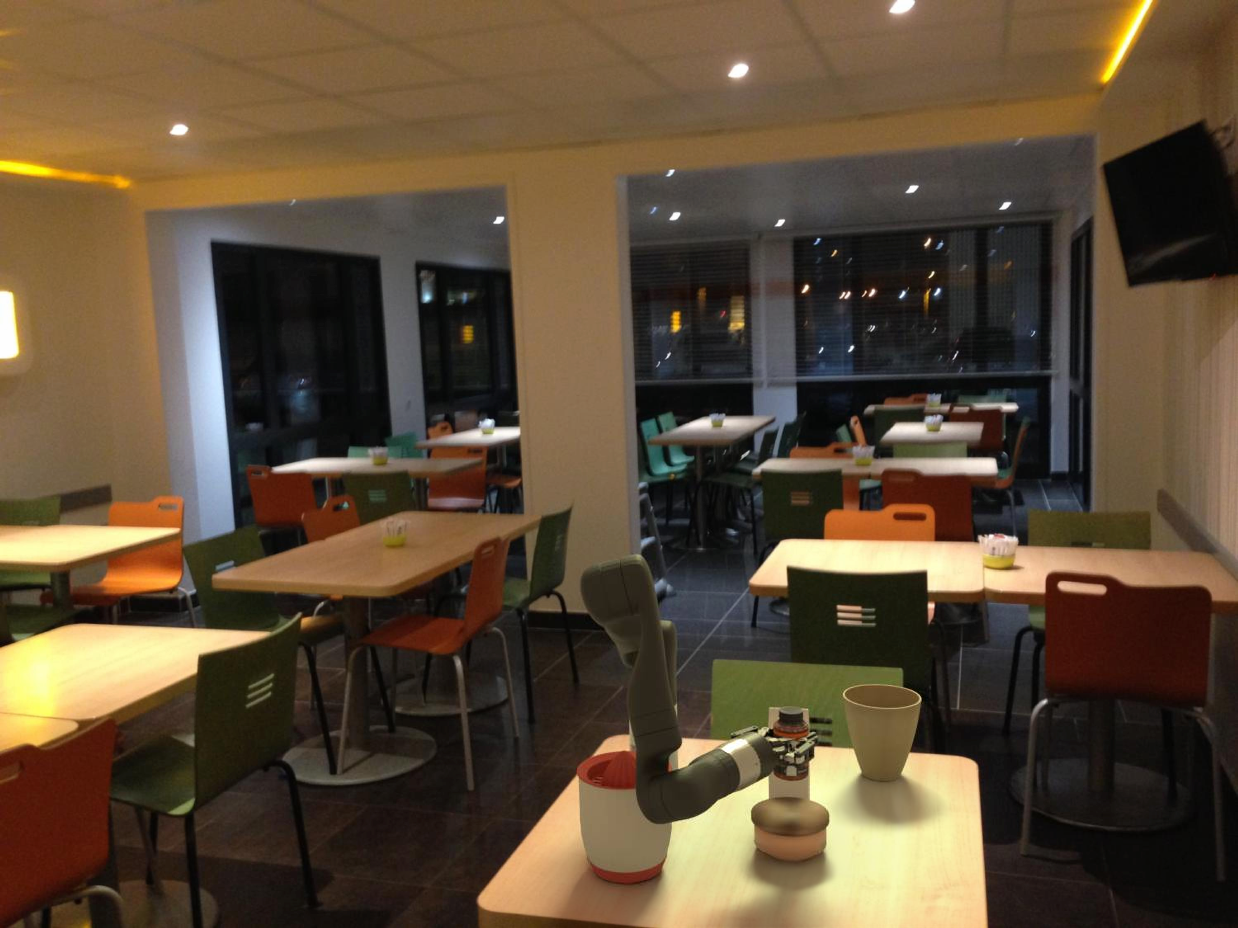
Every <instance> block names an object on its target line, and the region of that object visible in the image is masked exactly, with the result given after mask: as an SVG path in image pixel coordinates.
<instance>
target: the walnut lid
mask: <svg viewBox="0 0 1238 928" xmlns="http://www.w3.org/2000/svg"><path fill="white" fill-rule="evenodd" d="M750 820H751V822H752V824H753V826H754V825H755V826H756V827H758V828H759V829H761V830H763V831H765V832H768V833H771V834H776V835H781V836H807V835H812V834H815V833H818V832H820V831H822V830H824V829H825V828H826V829H827V828H828V826H829V824H830V812H829V810H828V809H827V808H826V806H824V805H823V804H820V803H819V802H816V801H814V800H811V799H810V800H808V799H803V798H796V797H777V798H771V799H769V798H767V799H763V800H761V801H759V802H756V804H754V805H753V807H752V808H751V810H750Z"/></svg>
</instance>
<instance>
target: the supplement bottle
mask: <svg viewBox="0 0 1238 928" xmlns="http://www.w3.org/2000/svg"><path fill="white" fill-rule="evenodd" d="M779 708H780V709H779V719H778V720H777V721H775V723H774V725H773V738H777V739H780V738H786V737H792V738H793V739H797V738H802V737H803V736H805V735H807V734H809V733H810V725H809V726H808V724H807V723H806V722H805V721H804V719H803V710H802V709H803V708H801V707H798V706H782V707H779ZM786 745H787V753H788V743H786ZM798 748H800V744H797V745H796V749H798ZM808 771H809V762H808V763H807V764H805V765H804V766H803V767H801V768H795V767H794V762H790V761H786V762H785V763H782V764H777V765H776V766H775V768H774V769H773V773H774V775H775V776H776V777H778V778H780V779H782V780H787V781H799V780H802V779H805V778H806V777H807V776H808Z"/></svg>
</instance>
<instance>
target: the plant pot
mask: <svg viewBox="0 0 1238 928" xmlns="http://www.w3.org/2000/svg"><path fill="white" fill-rule="evenodd" d="M842 695H843V697H842V698H843V699H842V700H843V705H844V713H845V718H846V724H847V728H848V732H849V736H850V737H849V738H850V740H851V744H852V748H853V751H854V754H855V757H856V761H857V763H858V765H859V769H860V771H861V774H862V775H863V777H865V778H866V779H867V778H868V779H869V780H872V781H873V780H874V781H878V782H890V781H892V782H893V781H896V780H898V779H899V778H901V776H902V773H903V771H904V768H905V766H906V763H907V760H908V758H909V755H910V752H911V748H912V745H913V743H914V739H915V734H916V731H917V727H918V722H919V717H920V712H921V704H922V697H921V695H920V694H919V693H918V692H916V691H914V690H912V689H909V688H906V687H902V686H897V685H889V684H877V683H876V684H874V683H873V684H859V685H854V686H852V687H848V688H847V689H845V690H844V691H843V693H842Z"/></svg>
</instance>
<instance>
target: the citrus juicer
mask: <svg viewBox="0 0 1238 928" xmlns="http://www.w3.org/2000/svg"><path fill="white" fill-rule="evenodd" d="M669 771H673V768H672V766H671V764H670V763H669ZM576 775H577V778H578V797H579V798H578V799H579V800H578V802H579V823H580V824H579V825H580V833H581V839H582V843H583V847H584V850H585V853H586V858H587V860H588V863H589V865H590V867H591V870H592V871H593V873H594V874H595V875H596V876H597V877H599V878H600V879H603V880H606V881H609V882H613V883H619V884H620V883H621V884H624V885H630V884H633V883H638V882H643V881H647V880H649V879H651V878H653V877H656V876H657V875H658V874H659V873H660V872H661V871H662V869H663V867H664V864H665V862H666V860H667V857H668V851H669V847H670V843H671V836H672V828H673V822H671V823H666V824H654V823H652V822H650V821H649V820H648V819H646V817H645V816H644V815H643V813H642V812H641V810H640V808H639V805H638V802H637V798H636V751H629V750H625V749H623V750H620V751H610V752H605V753H600V754H596V755H593V756H591V757H589V758H586V759H585V760H584V761H582V762H581V763H580V764H579V765H578V767H577V769H576Z"/></svg>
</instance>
